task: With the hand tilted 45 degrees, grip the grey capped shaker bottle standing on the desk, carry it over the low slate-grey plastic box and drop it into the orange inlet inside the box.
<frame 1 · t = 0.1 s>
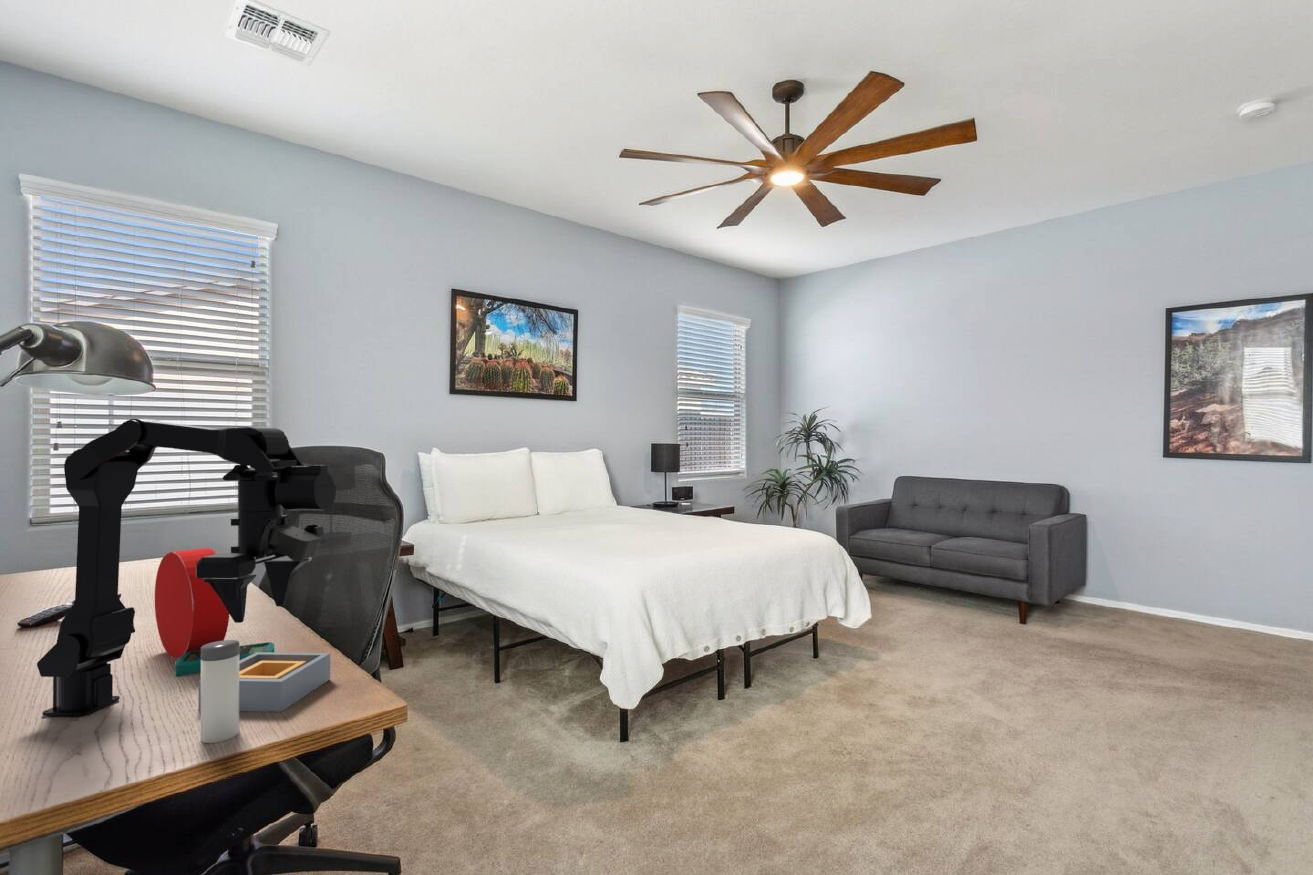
hand: (260, 613, 96), 15 cm above the table, tool pointing down, fingers open, 9 cm apart
digital multimeter: (227, 667, 117), on the table
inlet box: (268, 693, 103), on the table
grey capped shaker bottle: (220, 735, 88), on the table
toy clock: (190, 654, 123), on the table
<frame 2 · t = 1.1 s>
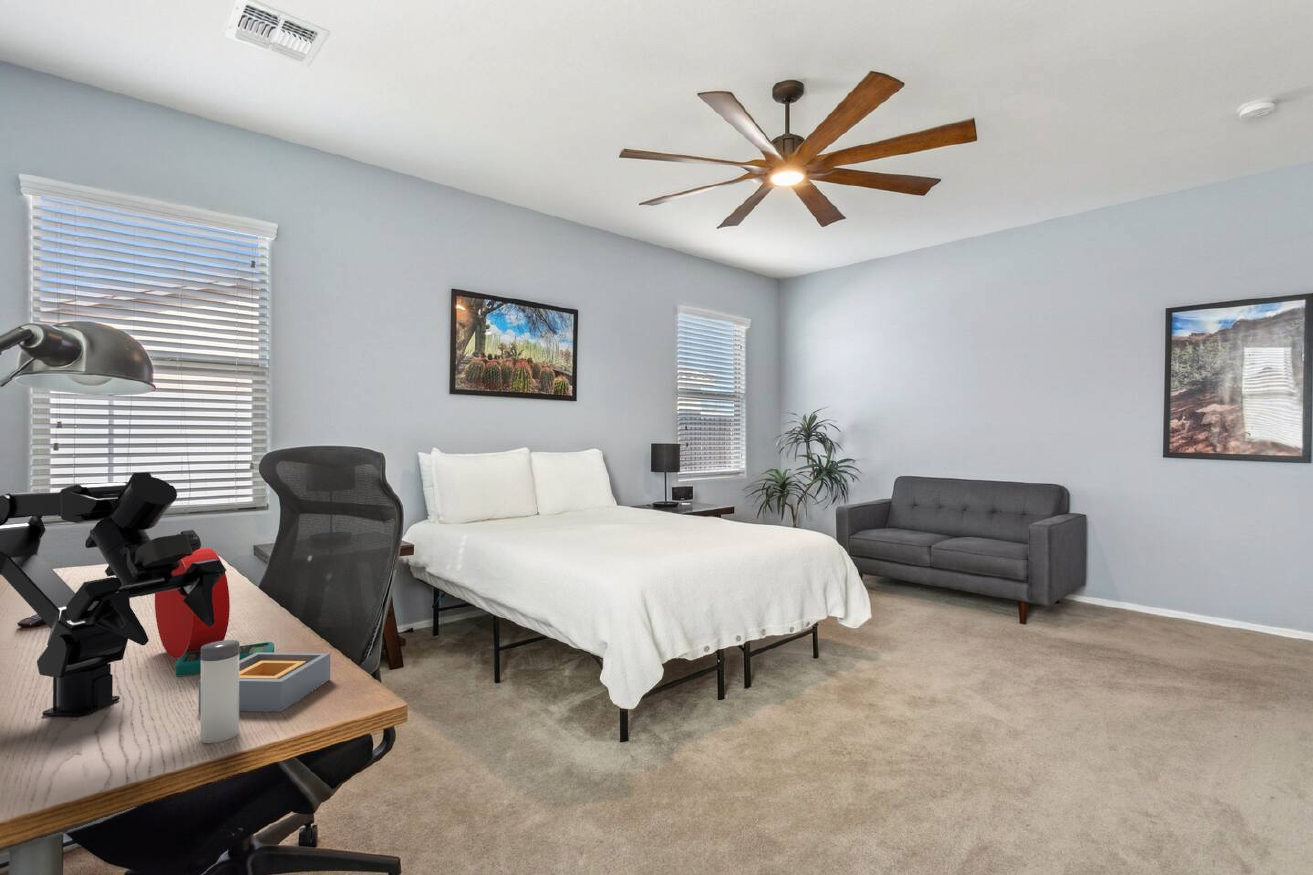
hand: (180, 633, 91), 13 cm above the table, tool tilted 45°, fingers open, 9 cm apart
nothing on the table moved.
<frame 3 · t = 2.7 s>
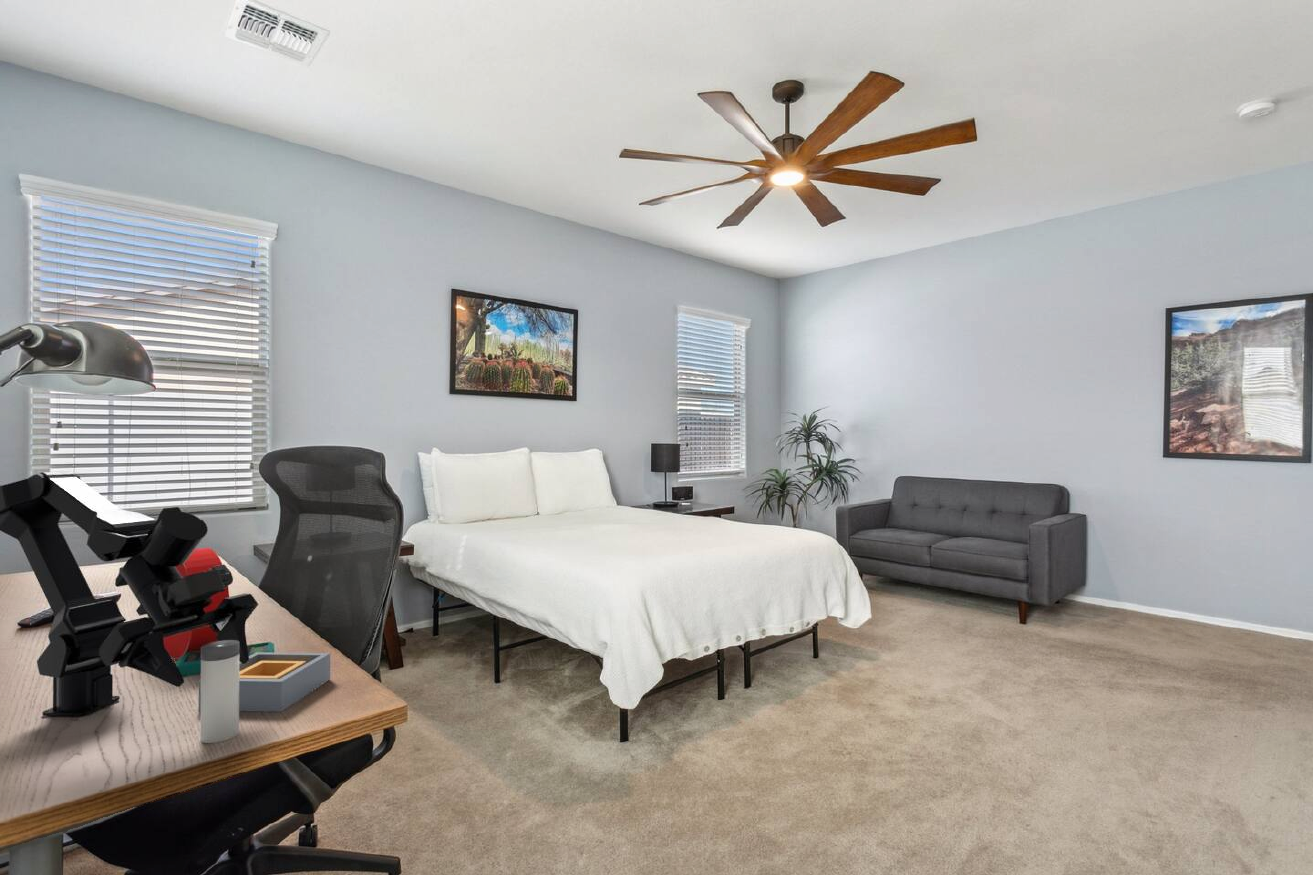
hand: (215, 672, 88), 9 cm above the table, tool tilted 45°, fingers open, 9 cm apart
nothing on the table moved.
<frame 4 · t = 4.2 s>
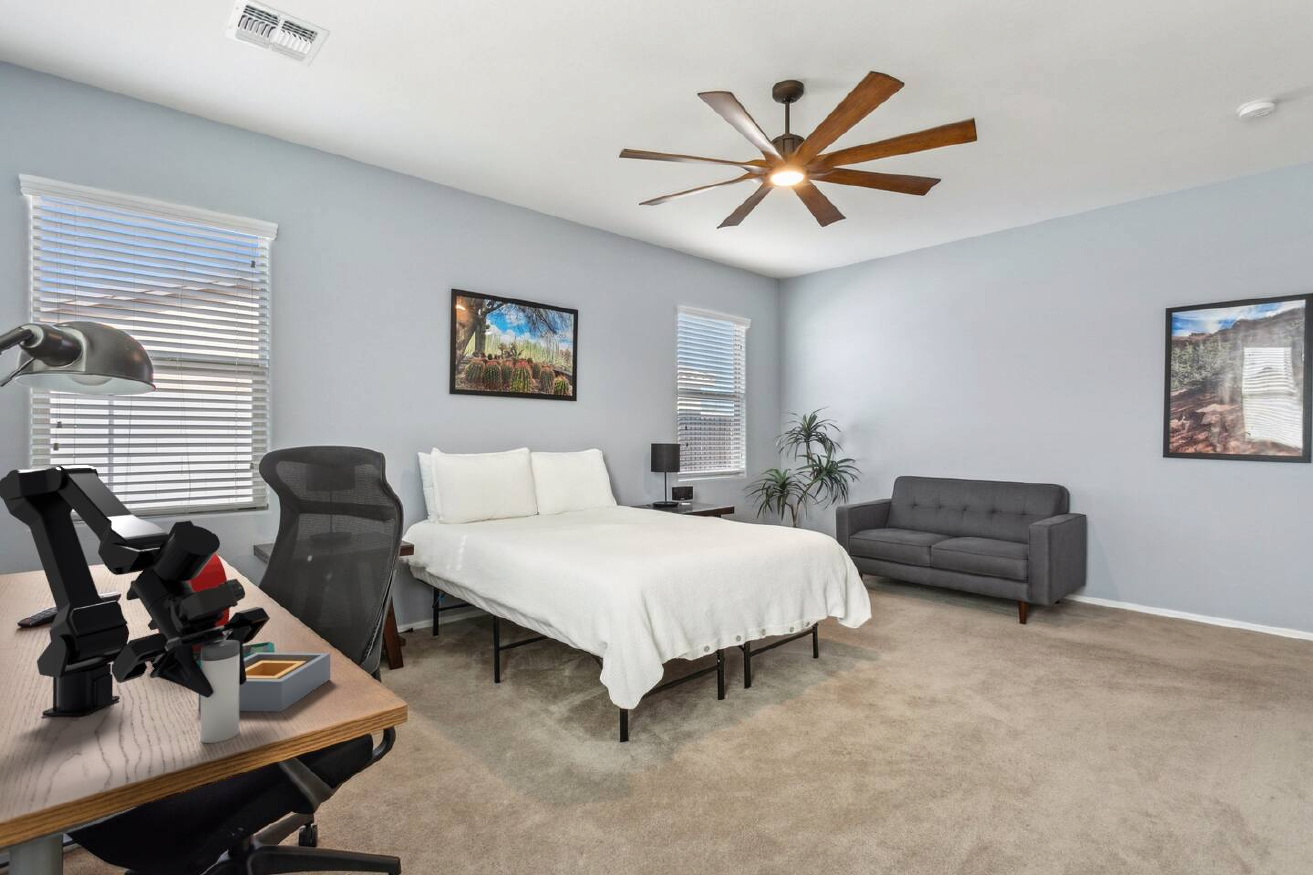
hand: (227, 688, 88), 7 cm above the table, tool tilted 45°, fingers closed on grey capped shaker bottle, 4 cm apart
grey capped shaker bottle: (220, 735, 88), on the table, touching gripper
everything else where it was.
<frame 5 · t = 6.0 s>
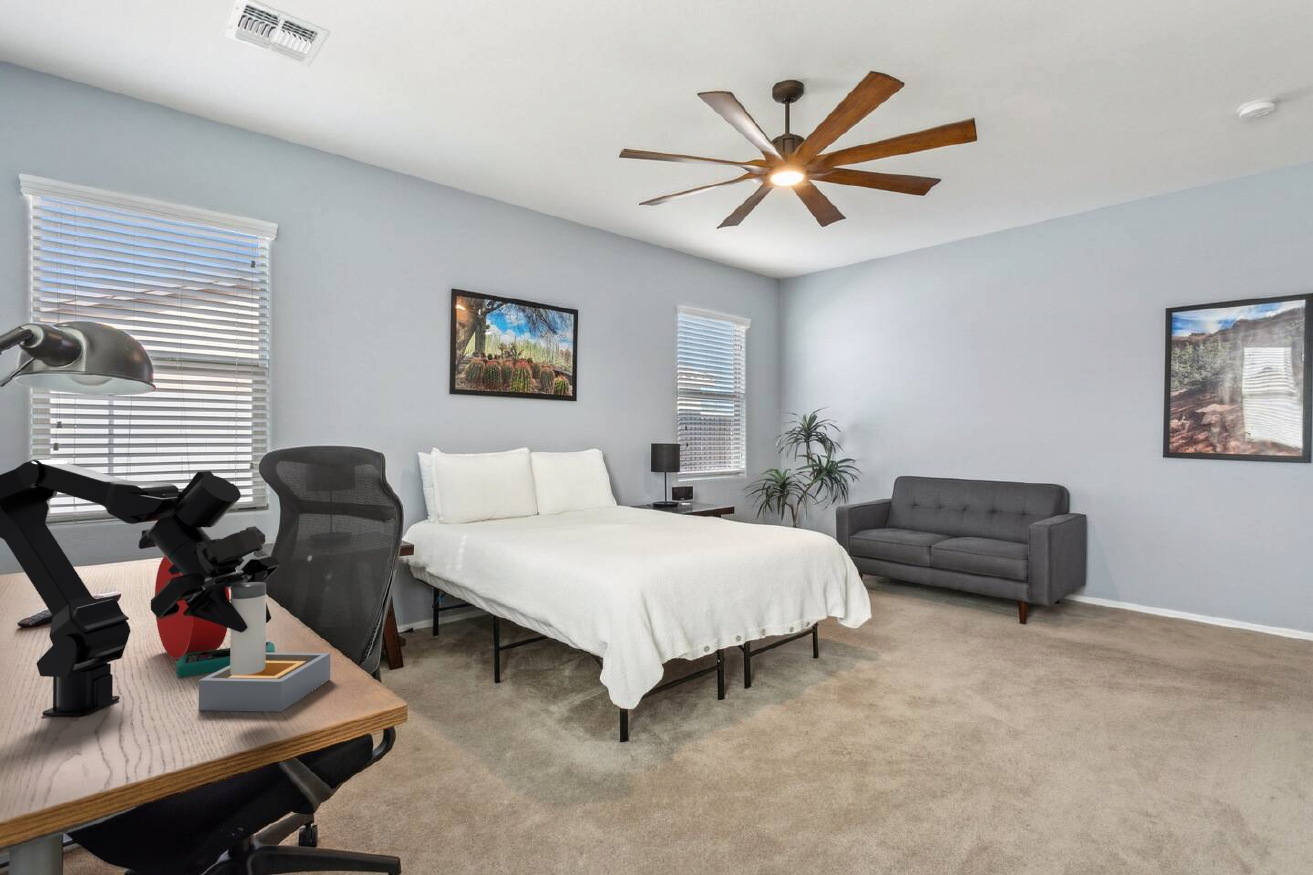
hand: (257, 625, 94), 13 cm above the table, tool tilted 45°, fingers closed on grey capped shaker bottle, 4 cm apart
grey capped shaker bottle: (248, 669, 94), point 7 cm above the table, touching gripper
everything else where it was.
when the fingers open (9 cm above the table, at t = 8.2 s): grey capped shaker bottle drops 1 cm, resting on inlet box.
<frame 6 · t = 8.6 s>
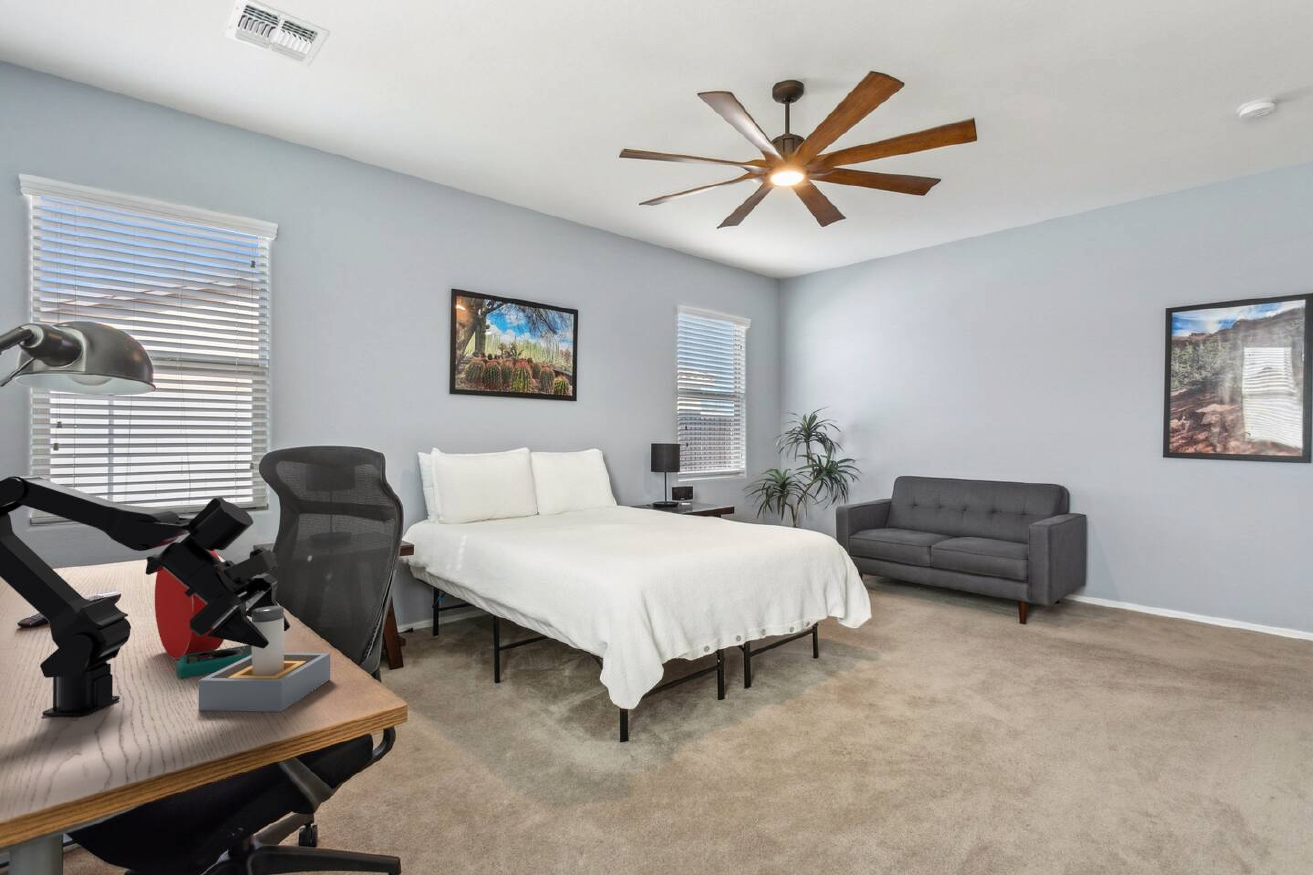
hand: (277, 637, 103), 9 cm above the table, tool tilted 45°, fingers open, 9 cm apart
grey capped shaker bottle: (268, 687, 103), point 1 cm above the table, touching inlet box
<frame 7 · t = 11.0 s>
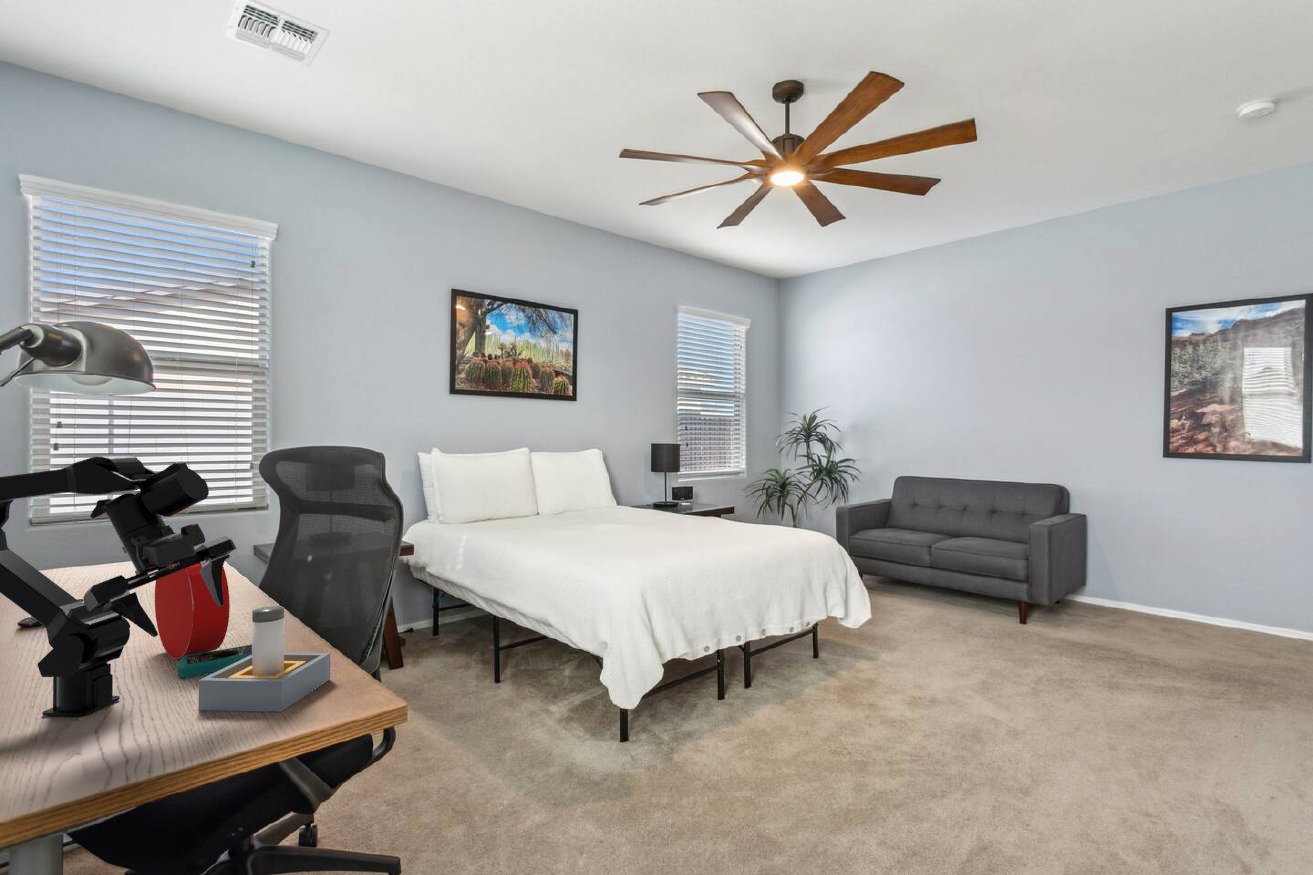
hand: (190, 620, 98), 13 cm above the table, tool tilted 25°, fingers open, 9 cm apart
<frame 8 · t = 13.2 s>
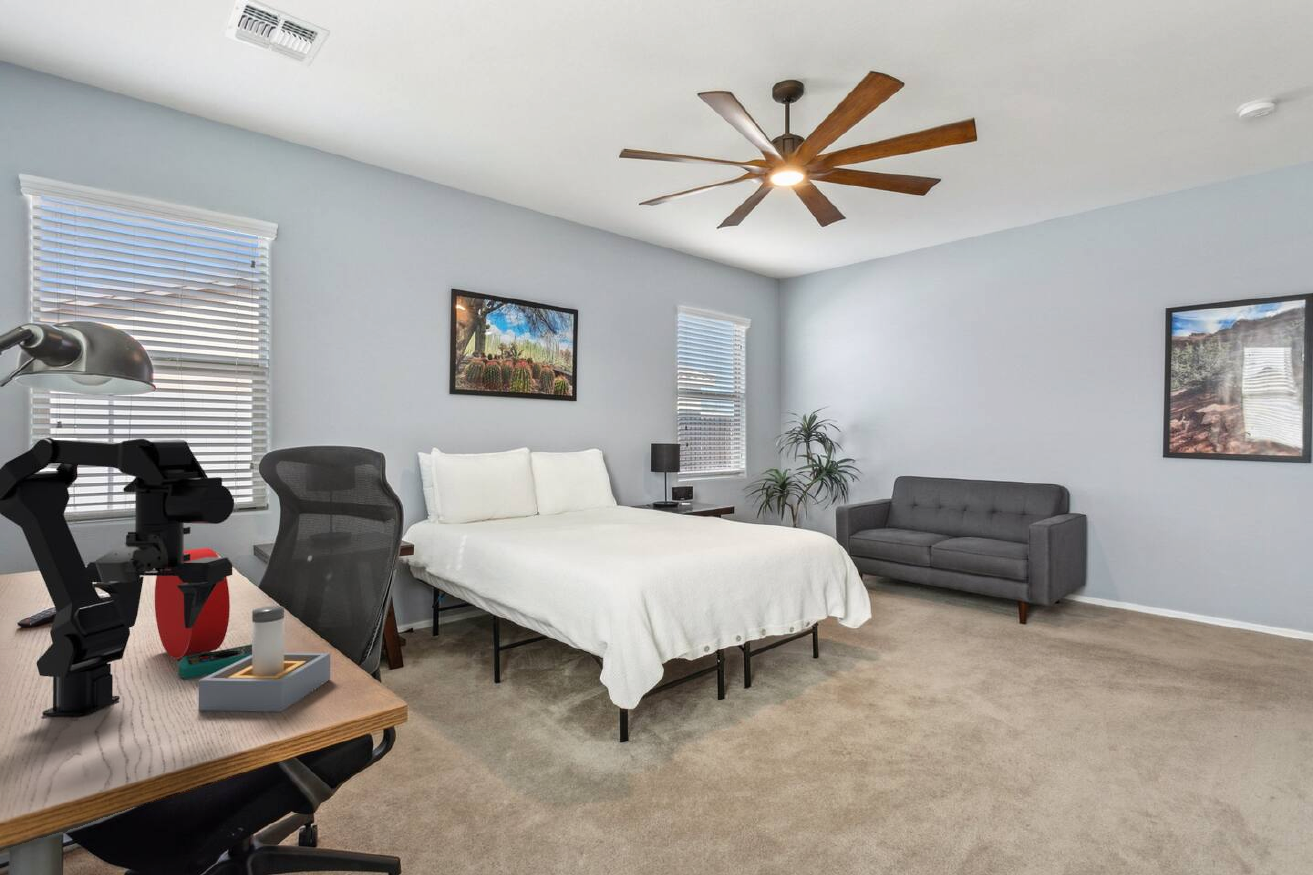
hand: (159, 627, 95), 13 cm above the table, tool pointing down, fingers open, 9 cm apart
at the end: grey capped shaker bottle 0.0 cm off-centre on the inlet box, point 1.1 cm above the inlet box's base; grey capped shaker bottle tilted 0°; the gripper is holding nothing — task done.
